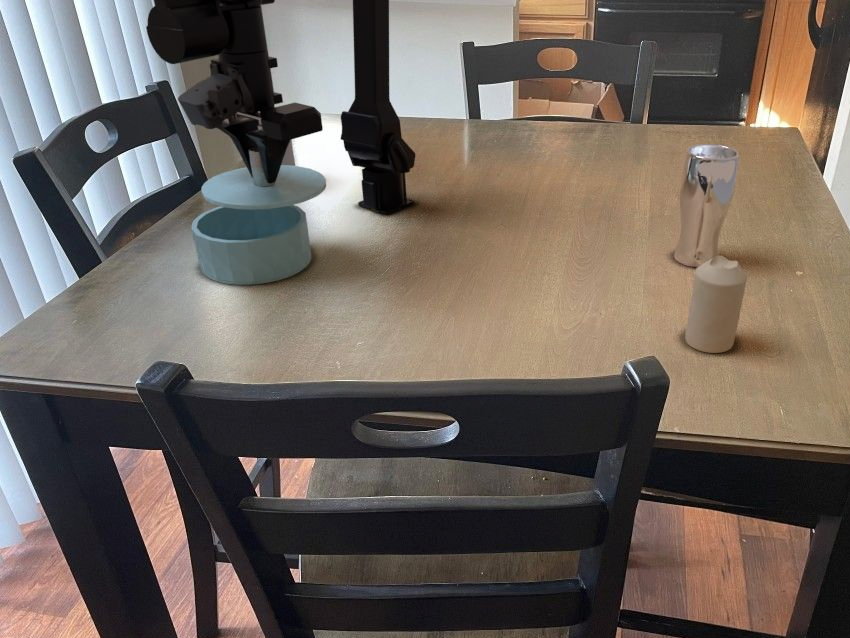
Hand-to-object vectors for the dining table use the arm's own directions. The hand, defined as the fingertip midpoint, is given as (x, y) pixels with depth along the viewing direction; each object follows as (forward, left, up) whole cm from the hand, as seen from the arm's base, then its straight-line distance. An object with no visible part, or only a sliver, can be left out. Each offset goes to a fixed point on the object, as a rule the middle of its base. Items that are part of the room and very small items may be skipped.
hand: (264, 180), depth 98 cm
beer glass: (-36, +45, -11) cm, 59 cm away
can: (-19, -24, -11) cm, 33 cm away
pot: (+2, -2, -11) cm, 12 cm away
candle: (-16, +56, -11) cm, 59 cm away
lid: (0, 0, -1) cm, 1 cm away
